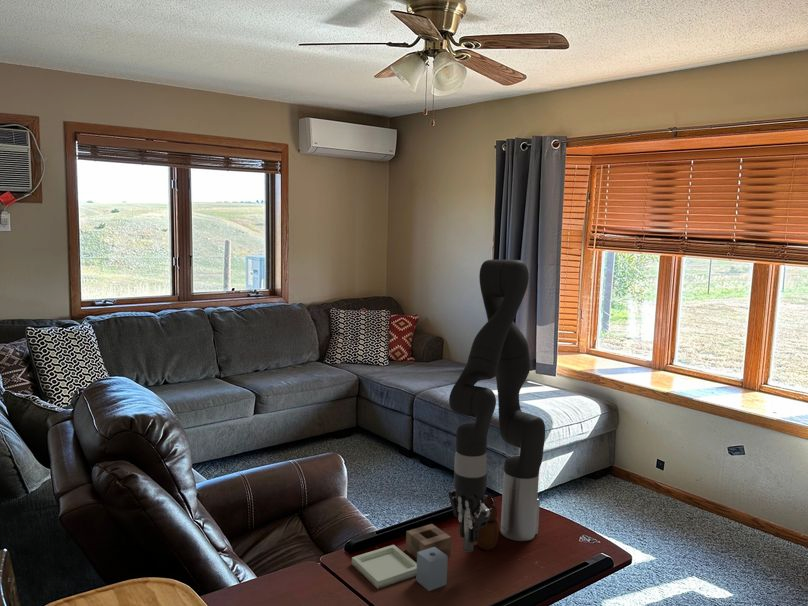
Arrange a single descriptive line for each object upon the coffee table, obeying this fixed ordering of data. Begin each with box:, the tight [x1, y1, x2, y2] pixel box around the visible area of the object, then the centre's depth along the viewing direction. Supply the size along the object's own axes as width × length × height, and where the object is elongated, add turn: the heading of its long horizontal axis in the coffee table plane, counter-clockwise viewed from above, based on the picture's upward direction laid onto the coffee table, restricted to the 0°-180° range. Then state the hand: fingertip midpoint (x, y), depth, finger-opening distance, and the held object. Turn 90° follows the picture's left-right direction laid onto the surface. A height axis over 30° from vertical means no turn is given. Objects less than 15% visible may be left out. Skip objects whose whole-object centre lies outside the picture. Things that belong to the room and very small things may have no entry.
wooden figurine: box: [476, 492, 499, 551], centre depth 164 cm, size 7×6×15 cm
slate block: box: [415, 547, 449, 592], centre depth 147 cm, size 5×5×7 cm
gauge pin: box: [462, 509, 475, 553], centre depth 150 cm, size 2×2×10 cm
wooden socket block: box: [405, 523, 452, 560], centre depth 160 cm, size 8×8×5 cm
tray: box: [351, 544, 417, 590], centre depth 153 cm, size 12×12×2 cm
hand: (468, 538), depth 151 cm, fingers closed on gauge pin, 2 cm apart
